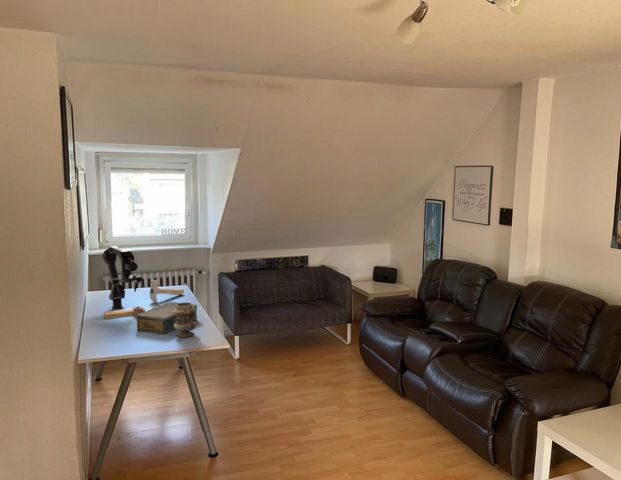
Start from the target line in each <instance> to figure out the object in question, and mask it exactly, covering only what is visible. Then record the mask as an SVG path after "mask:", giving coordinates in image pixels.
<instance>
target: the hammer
mask: <svg viewBox="0 0 621 480" xmlns="http://www.w3.org/2000/svg"><path fill="white" fill-rule="evenodd" d="M159 284H160V280H158V279H152V280H151V287H150V290H149V297H150V300H151V301H152V302H153V303H156V304H157V303H159V302H158V299H157V295H160V294H161V295H162V294H163V295H171V296H173V295H174V296H184V293H185V289H184V288H159V287H158V286H159Z"/></svg>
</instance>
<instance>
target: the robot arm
mask: <svg viewBox="0 0 621 480" xmlns="http://www.w3.org/2000/svg"><path fill="white" fill-rule="evenodd" d="M101 256H102V260H103V263H105V265H107V267H108V272H109V278H110V283H111V288H110V293H109V295H108V299H109V300H110V301H112V306H111V308H112V309H113V310H118V309H124V306H123V300H122V299H125V296H126V295H125V294H126V290H125V288H124V285H123V284H121V283H123V282H124V283H125V284H127V283H133V284H134V285H133V290H134V291H133V292H134V293H136V291H137V288H138V285H139V284H140V283H141V282H143V280H144V279H143V277H142V276H141V275H137V273H134V274H133V272H136V271H137V270H138V267H139V266H138V264H137V263H136V262H135V261H136V260H135V259H136V258H135V256H134V253H133V251H132V250H130V249H123V248H120V247H118V246H117V245H111V246H108V248H107V249H106V250H104V251H103V253H102V254H101ZM117 256H118V258H119V259H120V261H119V262H120V264H121V278H120V279H119V274H118V271H117V266H116V263H117V262H116V261H117Z"/></svg>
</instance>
